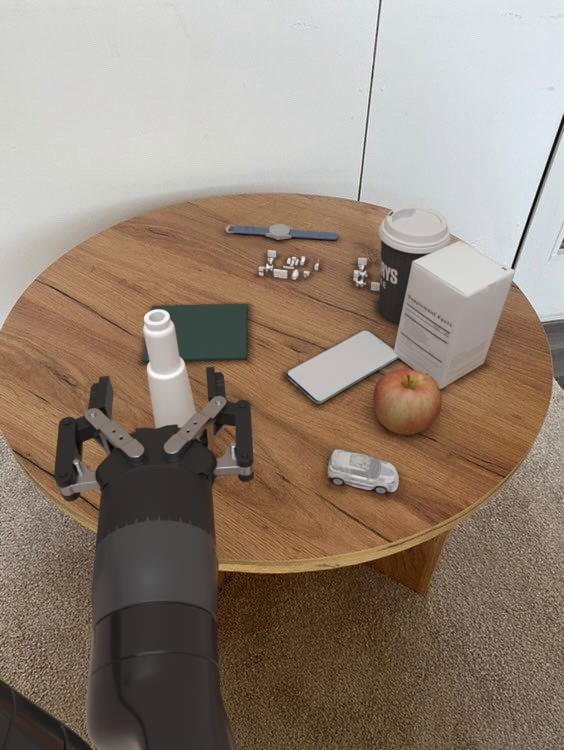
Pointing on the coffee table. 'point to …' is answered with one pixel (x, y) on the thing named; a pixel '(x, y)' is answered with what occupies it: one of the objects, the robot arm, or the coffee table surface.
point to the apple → (407, 401)
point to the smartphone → (341, 366)
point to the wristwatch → (281, 232)
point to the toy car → (362, 472)
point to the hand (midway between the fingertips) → (159, 378)
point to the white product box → (451, 311)
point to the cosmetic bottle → (166, 372)
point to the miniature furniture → (283, 273)
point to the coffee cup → (406, 251)
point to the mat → (208, 331)
